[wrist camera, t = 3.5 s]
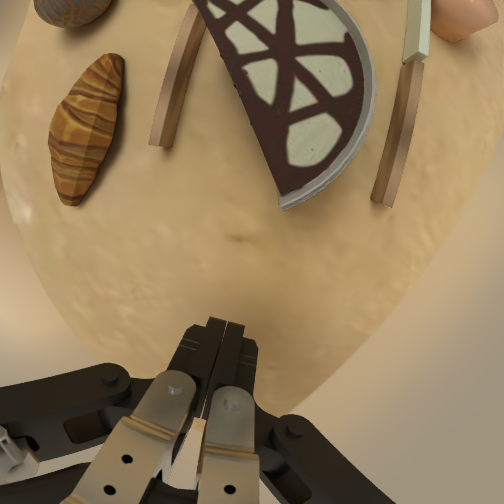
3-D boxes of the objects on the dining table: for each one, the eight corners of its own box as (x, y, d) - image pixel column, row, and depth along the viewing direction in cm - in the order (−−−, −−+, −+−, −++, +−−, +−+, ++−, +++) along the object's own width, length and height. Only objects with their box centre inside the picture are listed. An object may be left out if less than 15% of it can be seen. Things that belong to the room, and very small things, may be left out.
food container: (361, 162, 18) (430, 172, 9) (281, 189, 20) (284, 221, 10) (296, 17, 15) (304, -64, 5) (219, 42, 16) (174, -28, 7)
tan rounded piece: (421, -6, 12) (450, -34, 6) (461, 17, 12) (495, -3, 6) (420, 26, 13) (454, -1, 8) (461, 50, 13) (500, 33, 8)
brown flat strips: (199, 17, 15) (189, 4, 13) (410, 71, 15) (424, 63, 13) (162, 145, 19) (148, 144, 17) (379, 201, 19) (392, 207, 17)
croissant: (106, 215, 22) (71, 231, 17) (55, 192, 21) (19, 203, 17) (156, 62, 17) (126, 43, 12) (96, 54, 17) (61, 41, 12)
